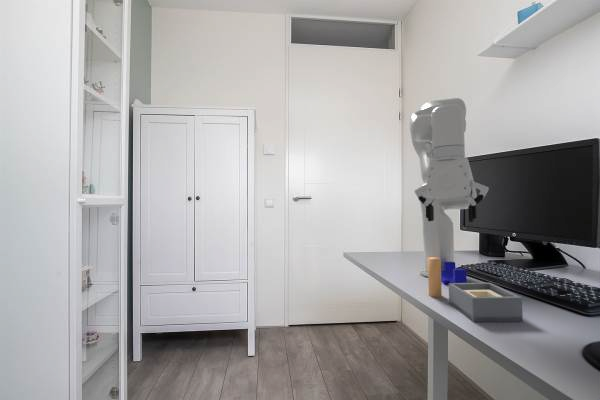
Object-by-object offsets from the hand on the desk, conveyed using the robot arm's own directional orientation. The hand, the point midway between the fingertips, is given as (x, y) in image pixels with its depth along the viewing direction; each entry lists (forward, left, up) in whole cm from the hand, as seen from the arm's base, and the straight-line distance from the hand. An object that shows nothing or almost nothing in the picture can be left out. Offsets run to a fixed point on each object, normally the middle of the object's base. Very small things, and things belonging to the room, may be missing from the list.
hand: (450, 221), depth 81 cm
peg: (-2, -5, -20) cm, 21 cm away
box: (+6, +7, -20) cm, 22 cm away
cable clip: (-15, -2, -21) cm, 25 cm away
